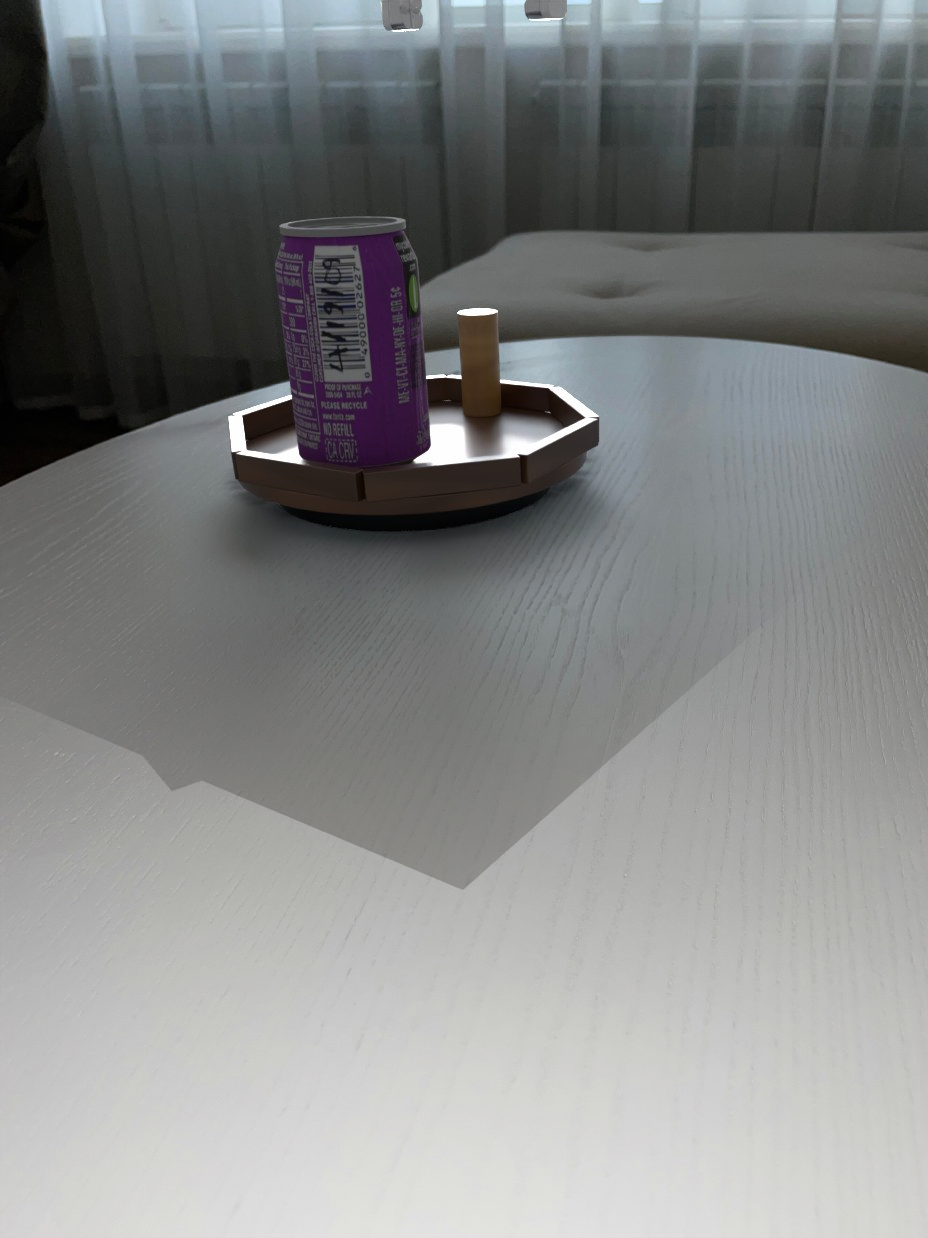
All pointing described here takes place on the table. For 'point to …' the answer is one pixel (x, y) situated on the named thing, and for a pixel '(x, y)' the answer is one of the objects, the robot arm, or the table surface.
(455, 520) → the turntable base
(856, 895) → the table surface
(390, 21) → the robot arm
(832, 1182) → the table surface
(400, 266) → the beverage can
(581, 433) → the tray
